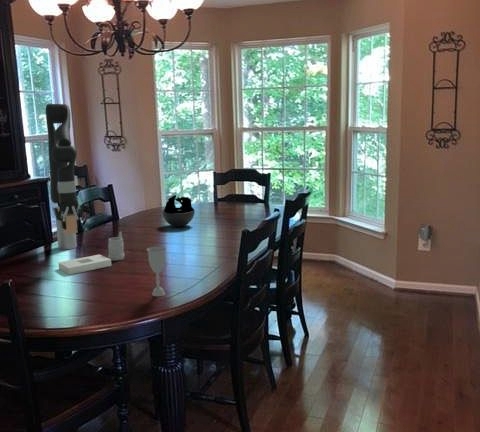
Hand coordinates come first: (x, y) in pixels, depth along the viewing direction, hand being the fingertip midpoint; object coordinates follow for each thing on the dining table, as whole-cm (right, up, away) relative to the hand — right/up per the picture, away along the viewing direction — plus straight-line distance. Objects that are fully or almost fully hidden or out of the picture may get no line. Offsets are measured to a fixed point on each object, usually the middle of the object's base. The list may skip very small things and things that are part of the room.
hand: (70, 228), depth 233 cm
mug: (+18, -15, +18) cm, 29 cm away
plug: (0, -2, 0) cm, 2 cm away
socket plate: (+6, -18, +2) cm, 19 cm away
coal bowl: (+39, -1, +86) cm, 94 cm away
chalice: (+46, -25, -35) cm, 62 cm away
